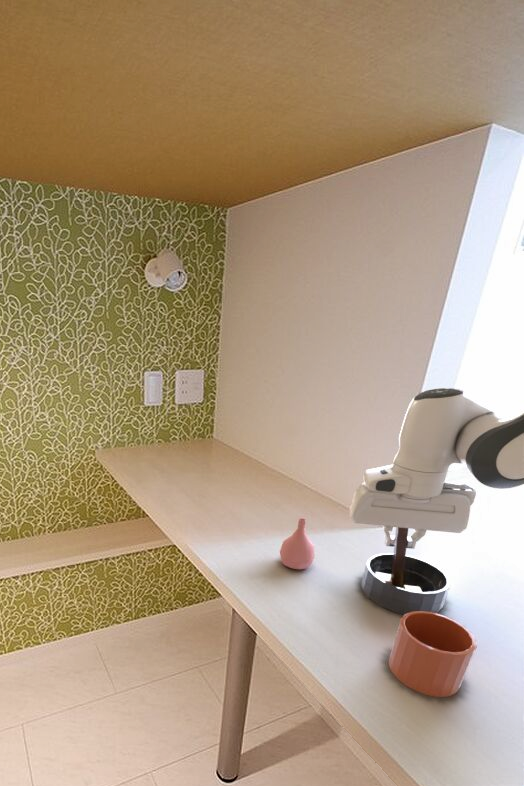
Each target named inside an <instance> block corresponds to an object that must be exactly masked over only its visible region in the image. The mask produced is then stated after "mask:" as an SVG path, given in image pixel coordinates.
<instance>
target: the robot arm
mask: <svg viewBox="0 0 524 786" xmlns="http://www.w3.org/2000/svg"><path fill="white" fill-rule="evenodd" d="M398 444H399V447H398V451H397V453H396V455H395V456H394V459H393V463H392V464H389V465H385V466H384V465H383V466H380V467H376V468H369V469H366V470H365V471H364V472H363V477H362V478H363V483H361V484H359V486H358V487H357V488H356V490H355V492H354V495H353V498H352V501H351V504H350V508H349V517H350V519H351V520H352V522H353V523H354V524H357V525H358V524H359V525H369V526H378V527H379V526H380V527H381V528H382V530H383V532H384V534H385V538H384V545H385V547H393V548H394V546H395V542H396V539H395V535H391V534H390V532H392V531H393V528H396V527H400V528H408V529H410V530H411V529H412V530H415V532H413V534H412V535H411V536H408V537H407V546H406V549H411V550H414V549H415V548H416V544H417V542H419V541H420V540H421V539H422V538H423V537H424V536H425V535H426V533H427V531H432V532H443V533H454V534H461V533H462V532H464V531H465V530H466V529H467V527H468V524H469V519H470V513H471V506H472V505H473V504H474V502H475V498H476V495H477V493H476V489H475V488H474V487H472V486H470V484H468V483H457V482H456V483H455V482H449V481H448V482H447V481H446V478H447V474H448V470H449V467H450V466H451V465H453V464H461V465H463V466H464V467H465V468H466V469H468V470H469V472H470V473H471V474H472V475H473V477H474V478H475V479H476V480H477V481H478V482H479V483H480V484H482V485H484V486H486V487H488V488H491V489H493V488H494V489H503V490H504V489H512V488H517V487H520V486H522V485H524V411H523V412H521V414H519V415H516V416H515V417H512V418H511V417H510V416H507V415H506V414H503V413H502V412H499V411H496V410H493V409H492V408H489V407H487V406H484V405H483V404H481V403H479V402H477V401H476V400H474V399H472V398H471V397H469V395H467V394H466V392H465V391H464V390H462V389H459V388H453V387H452V388H449V387H448V388H446V387H444V388H443V387H441V388H434V389H428V390H425V391H422V392H419V393H418V394H416V395H415V396H414V397H413V398H412V400H411V401H410V403H409V405H408V408H407V410H406V413H405V415H404V419H403V422H402V426H401V430H400V433H399V436H398Z"/></svg>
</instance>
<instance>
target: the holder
mask: <svg viewBox="0 0 524 786" xmlns="http://www.w3.org/2000/svg"><path fill="white" fill-rule="evenodd" d="M477 647H478V645H477V639H476V637H475V636H474V634H473V633H472V631H470V630H469V629H468V628H467V627H466V626H464V625H463V624H461V623H460V622H459V621H457V620H455V619H453V618H451V617H448V616H446V615H444V614H440V613H433V612H426V611H413V612H410V613H407V614H403V616H402V617H401V618H400V621H399V623H398V628H397V630H396V635H395V638H394V641H393V644H392V647H391V651H390V654H389V658H388V666H389V669H390V671H391V673H392V674H393V676H394V677H395V678H396V679H397V680H398V681H399V682H401V683H402V684H403V685H405V686H406V687H408V688H410V689H411V690H413V691H415V692H416V693H420V694H423V695H425V696H430V697H435V698H447V697H451V696H453V695H456V693H458V691H459V690H460V689H461V686H462V684H463V682H464V679H465V677H466V674H467V673H468V669H469V666H470V665H471V662H472V660H473V657H474V654H475V652H476V650H477Z"/></svg>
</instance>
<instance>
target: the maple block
mask: <svg viewBox="0 0 524 786" xmlns="http://www.w3.org/2000/svg"><path fill="white" fill-rule="evenodd" d="M375 575H376V576H377V577H379V578H380V579H382V580H384V581H385V582H387V583H389V584H392V578H391V574H386V573H381V572H375Z"/></svg>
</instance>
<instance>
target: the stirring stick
mask: <svg viewBox="0 0 524 786" xmlns="http://www.w3.org/2000/svg"><path fill="white" fill-rule="evenodd" d="M408 535H409V528H400V527H395V533H394V537H395V539H396V542H395V543H394V544H395V546H394V547H393V553H394V554H393V564H392V575H391V578H392V585H394V586H396V587H399V588H402V582H403V573H404V564H405V555H407V554H406V553H407V548H406V546H407V537H409V536H408Z"/></svg>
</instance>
